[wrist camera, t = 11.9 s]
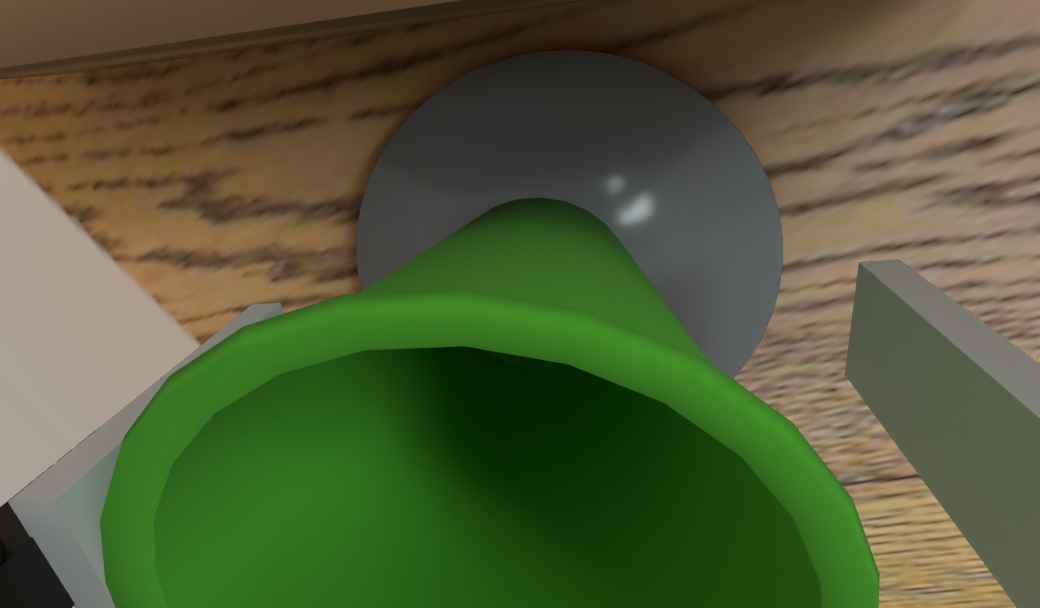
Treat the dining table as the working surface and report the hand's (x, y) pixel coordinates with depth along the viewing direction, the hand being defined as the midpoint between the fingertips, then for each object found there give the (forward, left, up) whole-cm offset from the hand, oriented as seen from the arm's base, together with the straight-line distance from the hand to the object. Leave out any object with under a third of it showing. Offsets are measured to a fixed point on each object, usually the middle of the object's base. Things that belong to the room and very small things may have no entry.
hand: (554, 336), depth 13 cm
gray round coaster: (0, 0, -4) cm, 4 cm away
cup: (0, -1, -4) cm, 4 cm away
